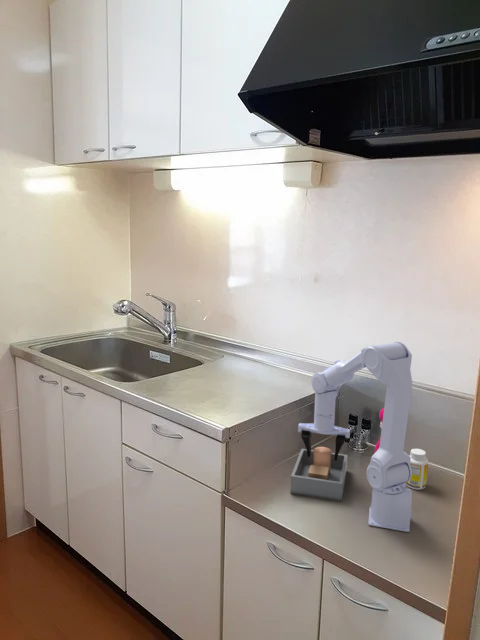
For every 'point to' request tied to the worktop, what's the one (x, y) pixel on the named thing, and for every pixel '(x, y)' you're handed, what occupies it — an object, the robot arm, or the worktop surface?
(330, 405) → the robot arm
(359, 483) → the worktop surface
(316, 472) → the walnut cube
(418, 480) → the supplement bottle
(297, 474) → the gray tote
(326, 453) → the terracotta cylinder
